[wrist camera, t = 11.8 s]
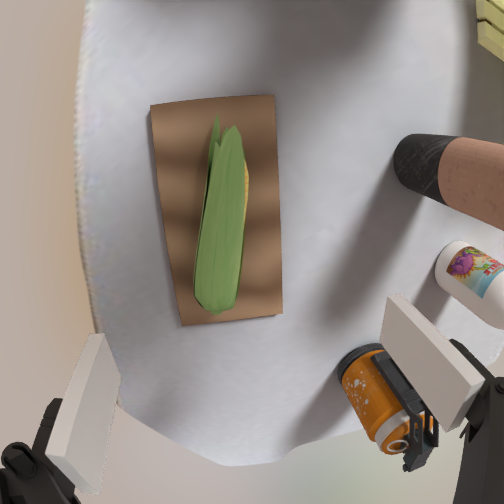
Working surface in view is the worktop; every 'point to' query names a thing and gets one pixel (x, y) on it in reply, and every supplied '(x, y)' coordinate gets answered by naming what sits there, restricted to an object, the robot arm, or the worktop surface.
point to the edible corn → (222, 223)
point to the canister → (388, 405)
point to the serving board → (192, 196)
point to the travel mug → (455, 173)
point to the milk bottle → (473, 281)
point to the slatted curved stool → (491, 26)
